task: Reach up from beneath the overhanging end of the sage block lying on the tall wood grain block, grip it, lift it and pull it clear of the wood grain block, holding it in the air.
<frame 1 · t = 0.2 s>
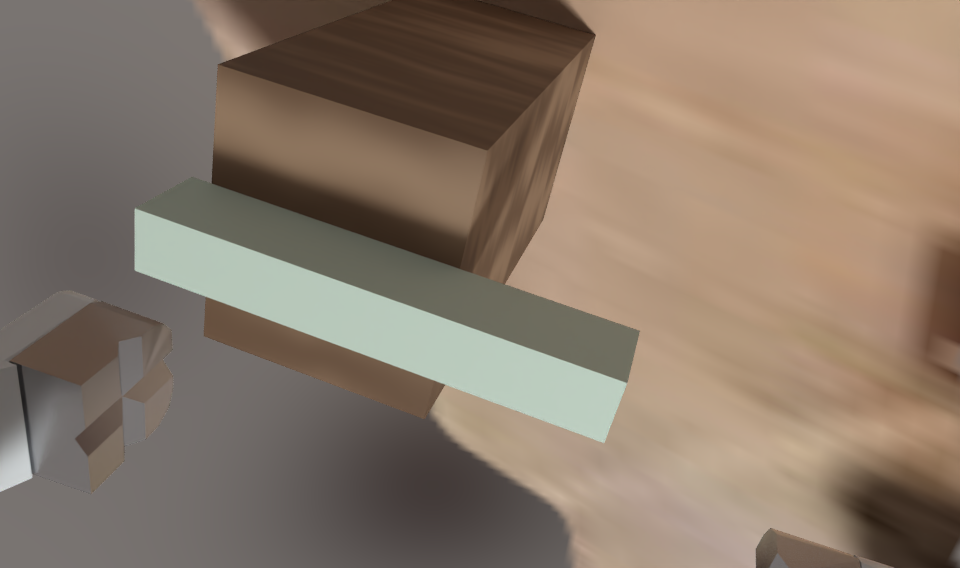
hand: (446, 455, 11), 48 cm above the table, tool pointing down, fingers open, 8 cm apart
sage block: (400, 279, 36), point 26 cm above the table, touching wood grain block
wood grain block: (488, 108, 59), on the table
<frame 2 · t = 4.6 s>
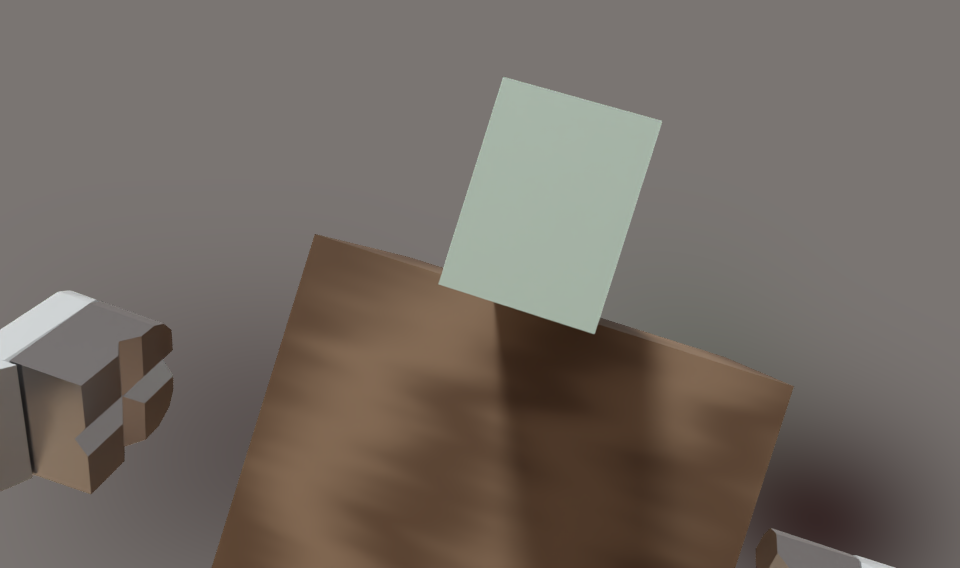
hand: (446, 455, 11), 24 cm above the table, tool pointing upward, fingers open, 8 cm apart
sage block: (549, 306, 25), point 26 cm above the table, touching wood grain block
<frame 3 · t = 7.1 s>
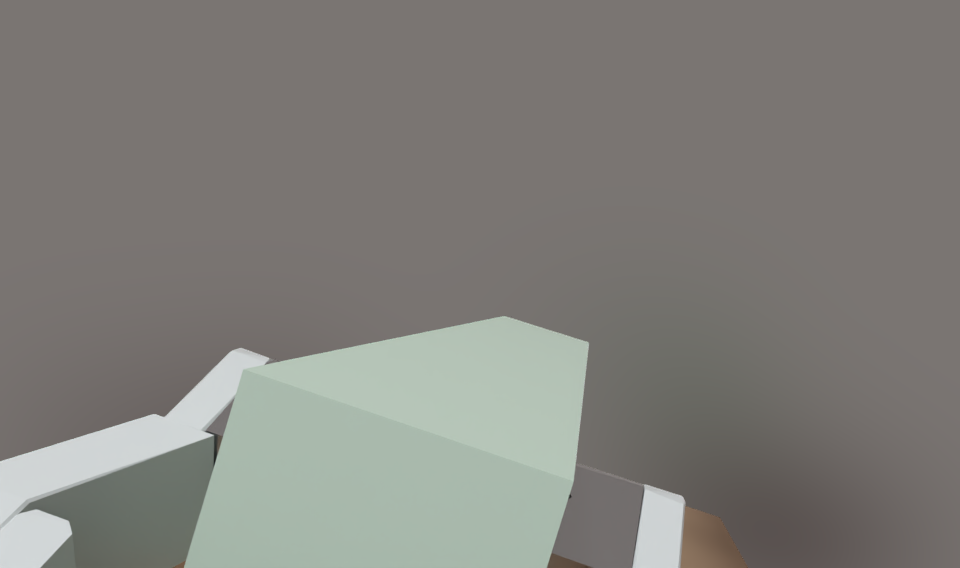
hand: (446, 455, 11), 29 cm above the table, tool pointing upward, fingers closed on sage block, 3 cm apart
sage block: (462, 526, 17), point 26 cm above the table, touching gripper, wood grain block
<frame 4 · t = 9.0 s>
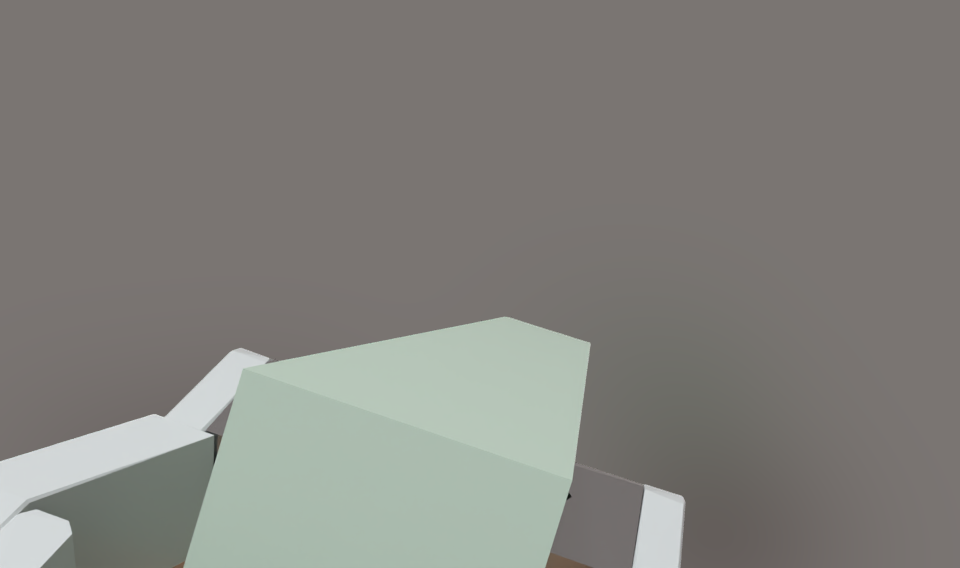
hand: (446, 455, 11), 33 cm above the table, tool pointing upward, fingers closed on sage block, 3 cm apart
sage block: (464, 526, 17), point 30 cm above the table, touching gripper
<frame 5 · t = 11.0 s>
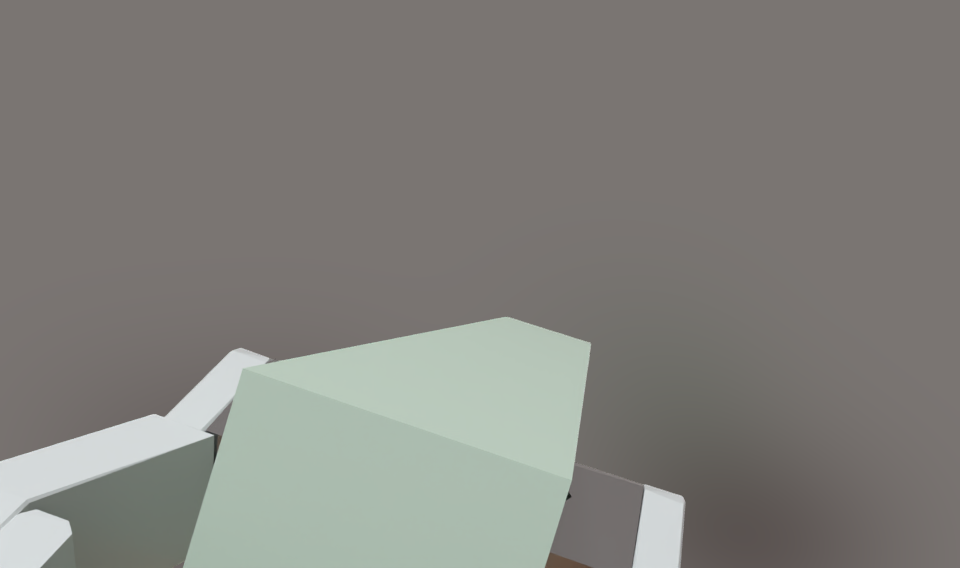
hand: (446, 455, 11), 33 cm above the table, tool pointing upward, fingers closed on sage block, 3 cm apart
sage block: (464, 526, 17), point 30 cm above the table, touching gripper
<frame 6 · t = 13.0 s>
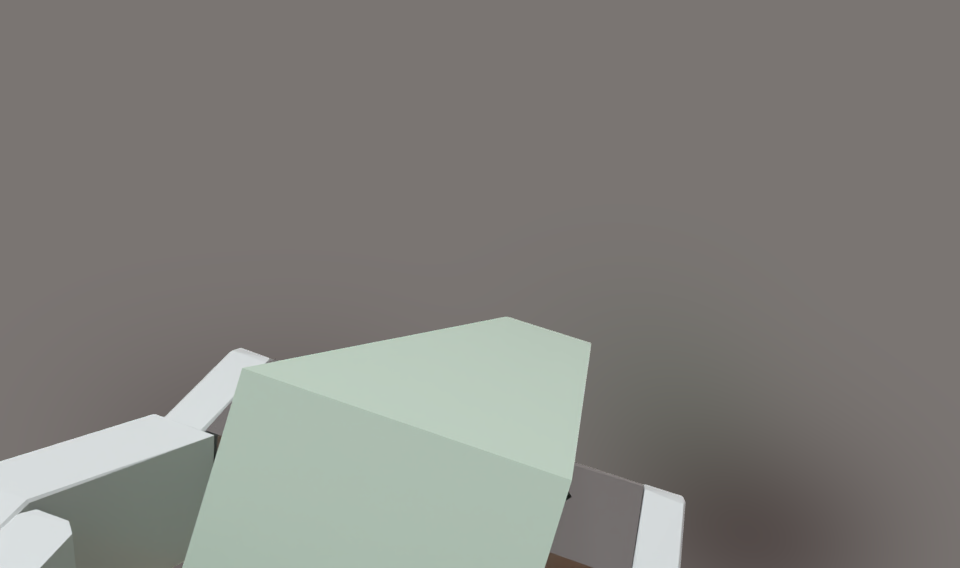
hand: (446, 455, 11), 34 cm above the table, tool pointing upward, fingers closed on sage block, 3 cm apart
sage block: (464, 526, 17), point 31 cm above the table, touching gripper
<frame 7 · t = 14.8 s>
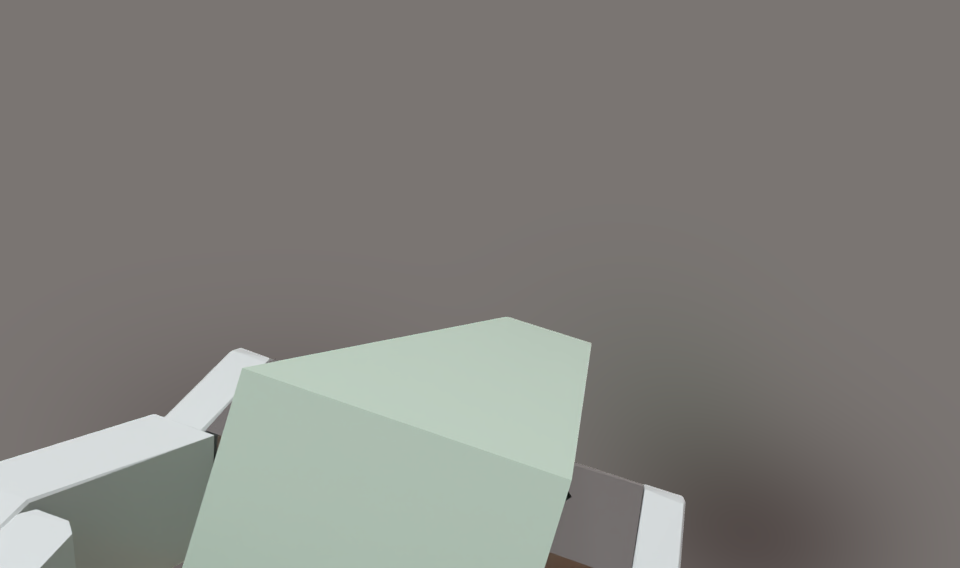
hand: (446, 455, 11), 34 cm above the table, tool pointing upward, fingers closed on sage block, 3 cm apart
sage block: (464, 526, 17), point 31 cm above the table, touching gripper
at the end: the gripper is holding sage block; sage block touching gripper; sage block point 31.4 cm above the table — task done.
